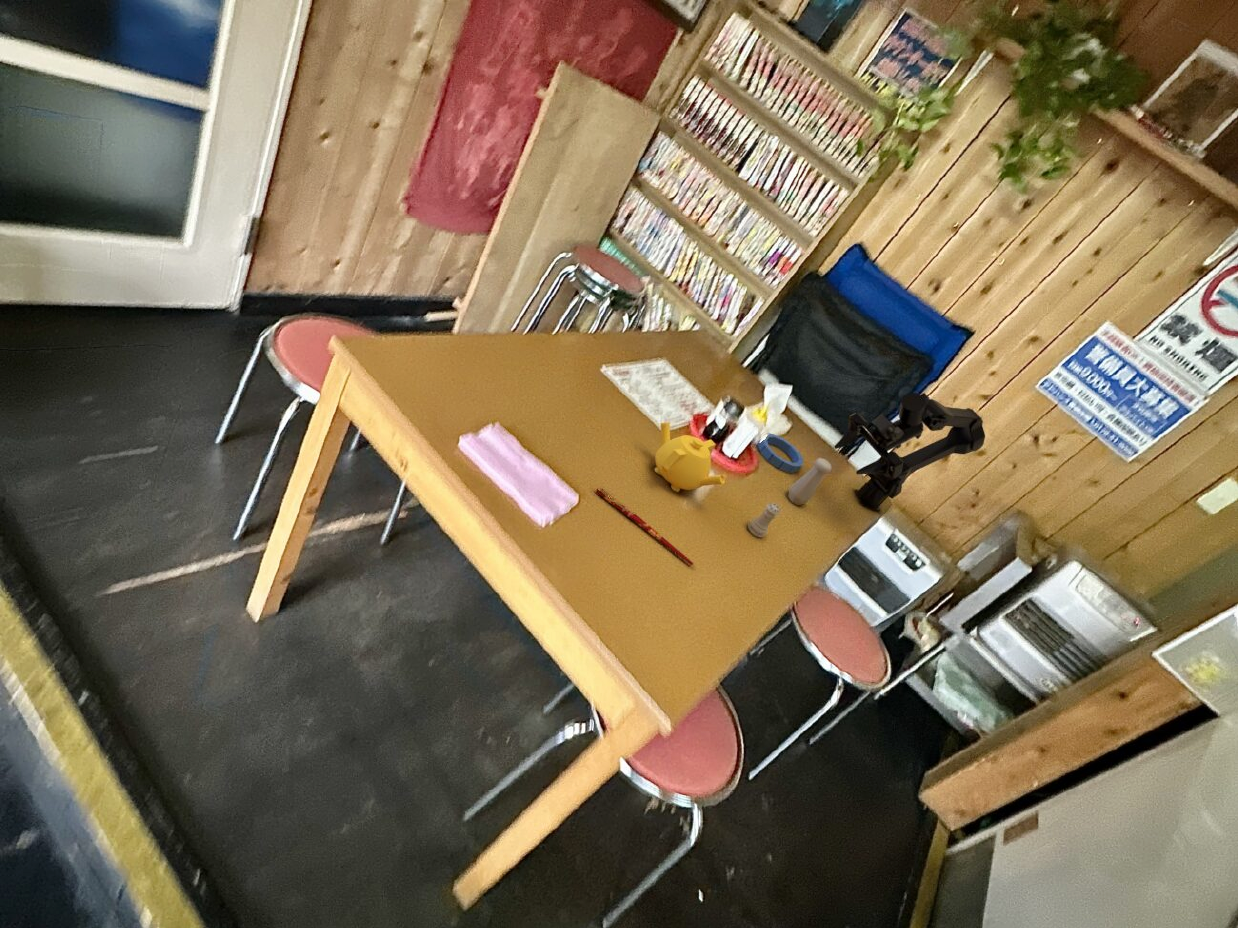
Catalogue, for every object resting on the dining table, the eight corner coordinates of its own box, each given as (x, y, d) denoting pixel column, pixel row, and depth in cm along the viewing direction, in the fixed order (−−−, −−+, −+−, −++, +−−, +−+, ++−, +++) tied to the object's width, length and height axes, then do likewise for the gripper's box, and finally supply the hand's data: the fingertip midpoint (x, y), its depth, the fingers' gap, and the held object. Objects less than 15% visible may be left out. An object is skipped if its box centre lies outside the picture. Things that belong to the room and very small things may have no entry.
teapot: (724, 499, 171) (751, 464, 166) (682, 517, 158) (710, 480, 152) (666, 442, 179) (689, 406, 173) (621, 454, 165) (645, 416, 159)
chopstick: (690, 567, 145) (692, 564, 145) (595, 491, 149) (597, 488, 149) (693, 563, 147) (696, 559, 147) (599, 488, 151) (601, 484, 150)
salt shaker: (804, 511, 186) (836, 474, 179) (785, 500, 185) (816, 462, 179) (804, 498, 191) (835, 462, 184) (785, 487, 190) (815, 450, 184)
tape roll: (791, 450, 210) (796, 443, 208) (803, 478, 200) (808, 472, 198) (753, 434, 205) (758, 427, 204) (763, 463, 195) (769, 456, 194)
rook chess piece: (753, 538, 165) (774, 513, 161) (743, 523, 168) (763, 498, 163) (767, 538, 168) (787, 514, 164) (756, 523, 170) (776, 499, 166)
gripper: (878, 387, 186) (824, 415, 185) (927, 438, 175) (870, 468, 174) (875, 415, 195) (823, 441, 194) (921, 464, 184) (867, 493, 183)
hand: (845, 459), depth 186 cm, fingers open, 9 cm apart
